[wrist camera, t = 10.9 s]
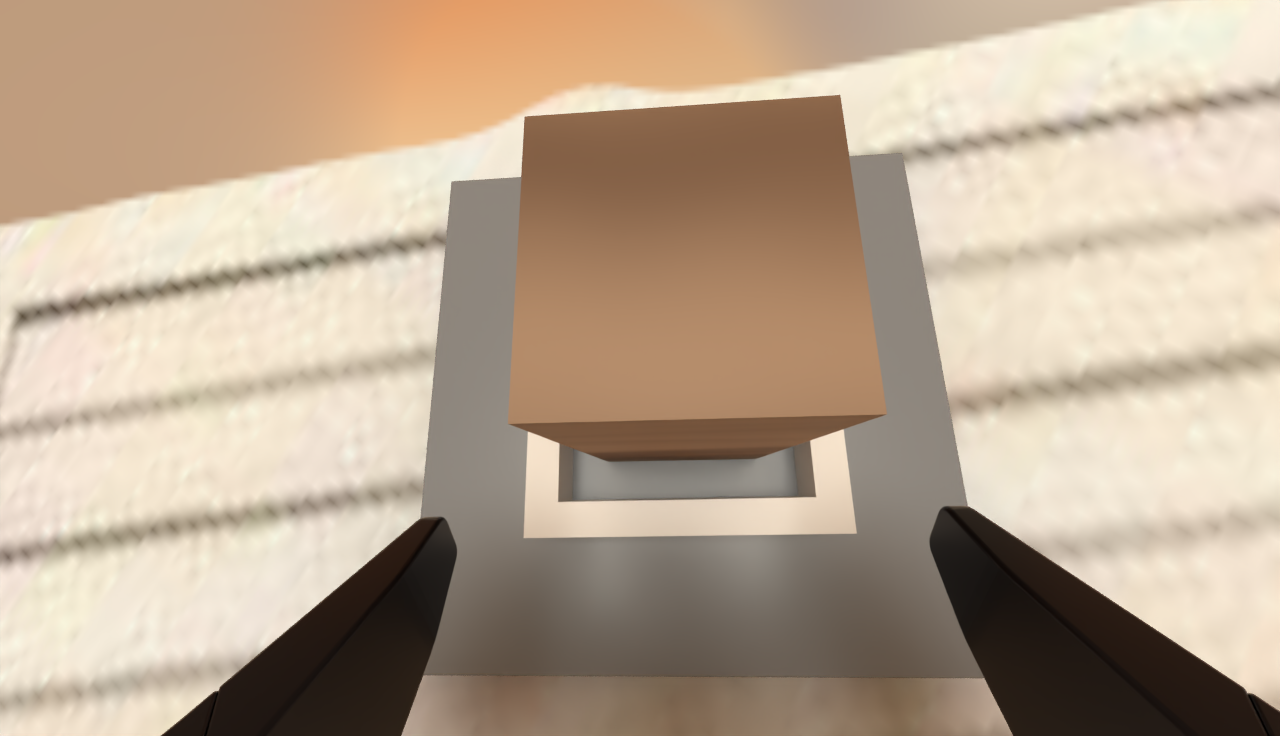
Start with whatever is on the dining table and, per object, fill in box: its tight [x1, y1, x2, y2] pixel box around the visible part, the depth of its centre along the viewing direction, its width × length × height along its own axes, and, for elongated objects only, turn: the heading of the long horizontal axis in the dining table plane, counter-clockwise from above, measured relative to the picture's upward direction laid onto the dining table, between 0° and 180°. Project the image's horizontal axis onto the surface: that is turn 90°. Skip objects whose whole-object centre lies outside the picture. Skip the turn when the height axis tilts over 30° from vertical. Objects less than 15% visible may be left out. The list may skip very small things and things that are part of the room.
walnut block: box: [508, 95, 887, 462], centre depth 12 cm, size 5×5×10 cm
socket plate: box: [421, 153, 984, 678], centre depth 16 cm, size 18×18×3 cm
